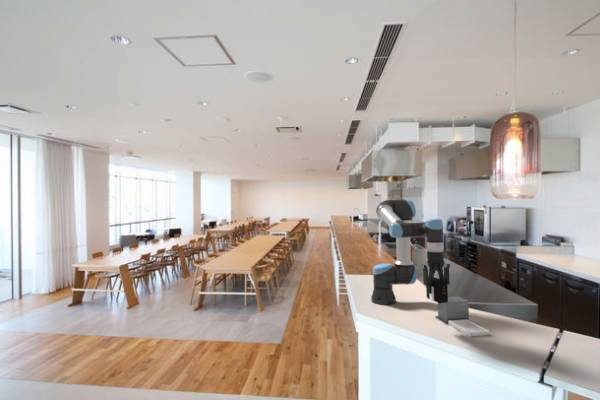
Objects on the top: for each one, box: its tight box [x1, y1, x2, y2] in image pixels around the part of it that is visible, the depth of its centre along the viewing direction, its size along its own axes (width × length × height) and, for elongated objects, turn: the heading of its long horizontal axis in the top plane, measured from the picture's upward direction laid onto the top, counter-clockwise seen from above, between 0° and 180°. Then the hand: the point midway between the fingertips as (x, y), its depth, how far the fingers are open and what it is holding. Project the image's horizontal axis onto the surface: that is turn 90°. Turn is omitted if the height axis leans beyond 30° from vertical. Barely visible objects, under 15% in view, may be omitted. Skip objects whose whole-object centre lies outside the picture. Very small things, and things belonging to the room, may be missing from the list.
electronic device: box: [425, 277, 449, 304], centre depth 147 cm, size 4×10×10 cm, turn 15°
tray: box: [447, 319, 491, 338], centre depth 146 cm, size 16×10×2 cm, turn 7°
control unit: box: [434, 295, 473, 325], centre depth 159 cm, size 10×14×11 cm
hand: (437, 299), depth 147 cm, fingers closed on electronic device, 5 cm apart
